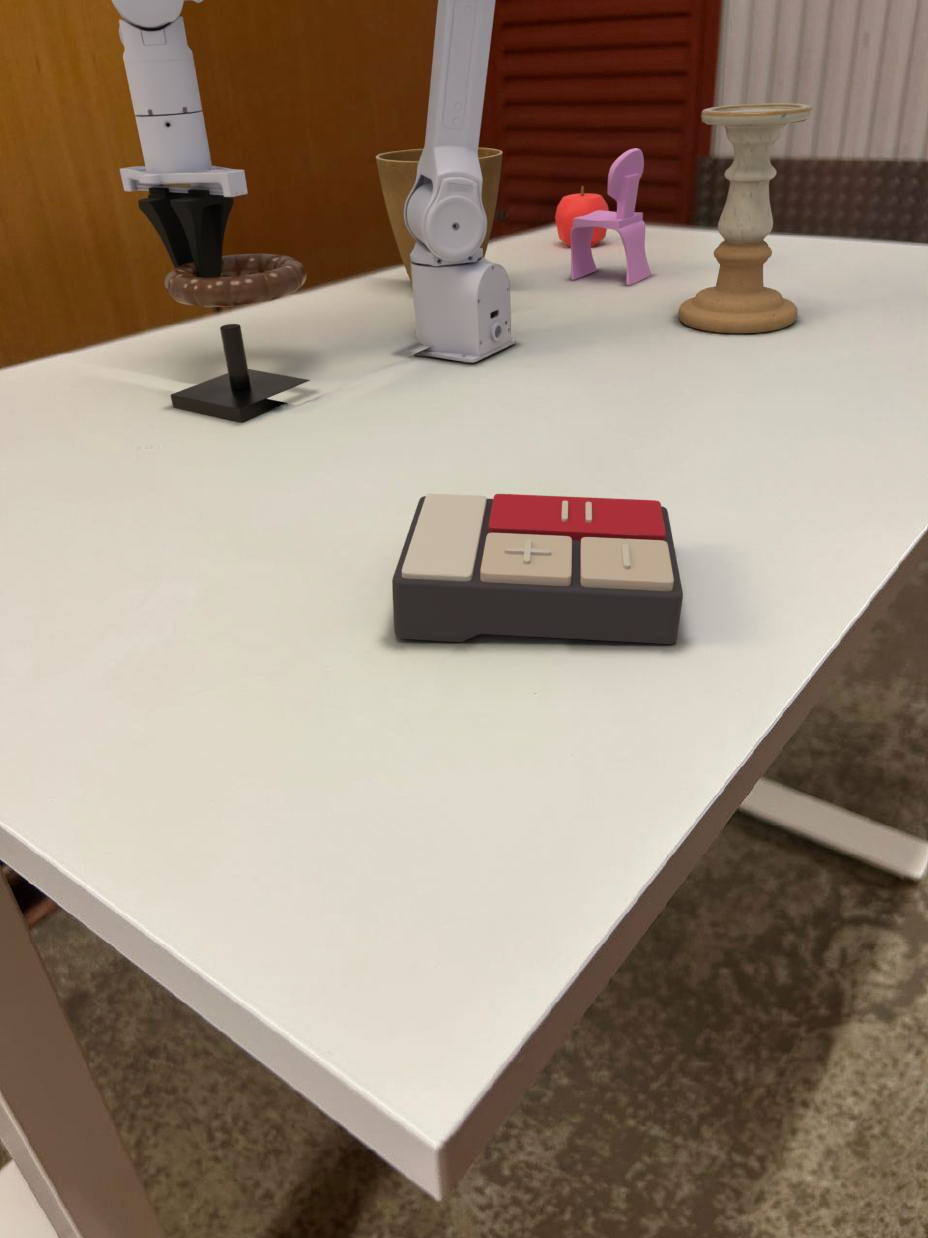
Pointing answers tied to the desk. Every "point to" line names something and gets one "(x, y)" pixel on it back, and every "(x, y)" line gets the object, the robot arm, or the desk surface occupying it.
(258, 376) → the peg stand
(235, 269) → the ring
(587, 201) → the apple
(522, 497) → the calculator
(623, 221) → the toy chair
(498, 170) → the plant pot
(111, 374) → the desk surface
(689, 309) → the candle holder
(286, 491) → the desk surface
